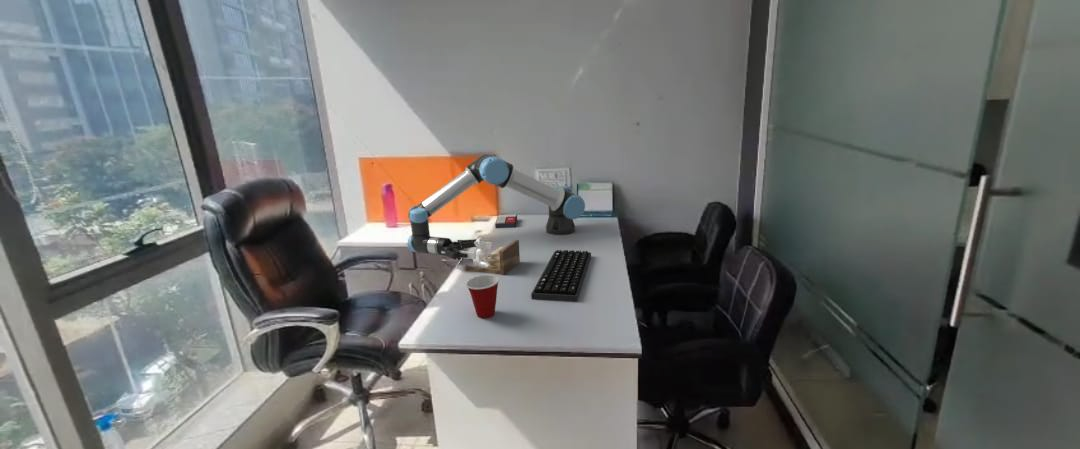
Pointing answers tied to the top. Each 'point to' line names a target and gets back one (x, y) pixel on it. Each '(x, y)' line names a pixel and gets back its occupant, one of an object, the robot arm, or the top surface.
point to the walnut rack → (503, 260)
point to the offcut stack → (495, 259)
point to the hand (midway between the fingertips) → (483, 250)
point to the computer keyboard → (562, 276)
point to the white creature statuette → (481, 255)
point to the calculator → (506, 221)
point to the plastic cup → (483, 294)
